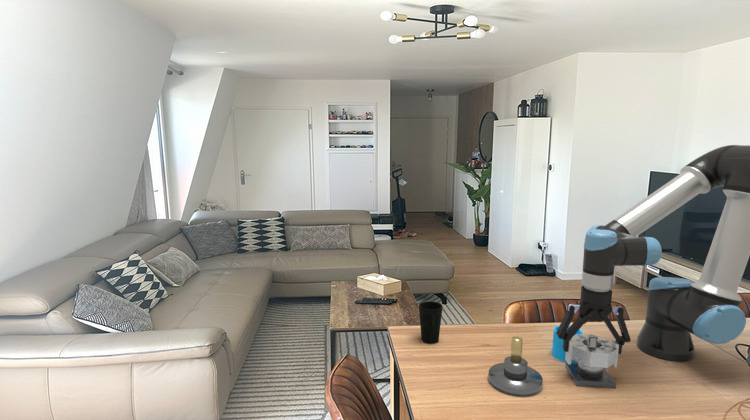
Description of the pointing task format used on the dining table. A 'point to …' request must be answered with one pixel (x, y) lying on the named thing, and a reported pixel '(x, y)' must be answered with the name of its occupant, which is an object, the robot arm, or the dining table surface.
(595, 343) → the stand
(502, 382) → the hub
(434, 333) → the cup
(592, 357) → the faceted steel ring
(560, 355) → the mug
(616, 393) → the dining table surface
